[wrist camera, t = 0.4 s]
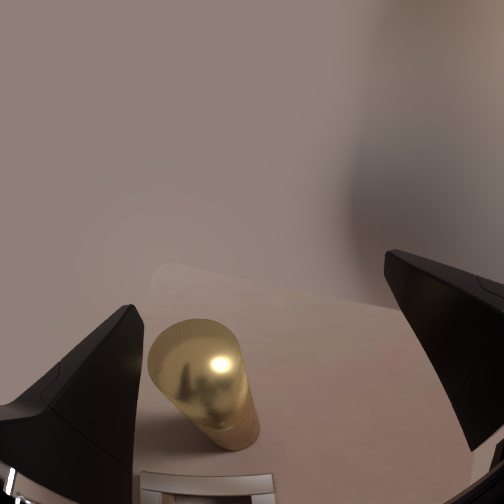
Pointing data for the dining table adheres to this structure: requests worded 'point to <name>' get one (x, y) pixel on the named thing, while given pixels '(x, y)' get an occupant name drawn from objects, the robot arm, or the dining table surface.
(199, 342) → the gold cylinder
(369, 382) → the dining table surface
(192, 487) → the shallow grey tray
